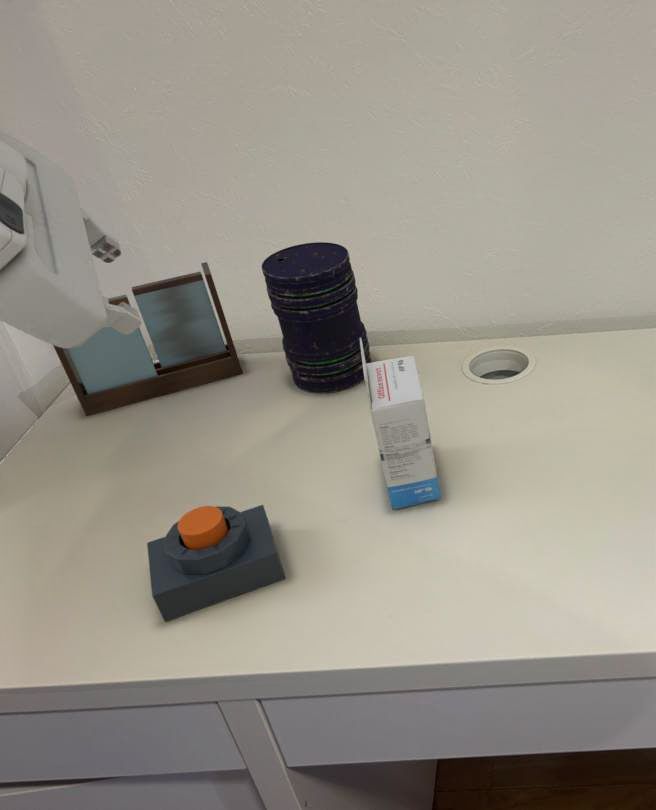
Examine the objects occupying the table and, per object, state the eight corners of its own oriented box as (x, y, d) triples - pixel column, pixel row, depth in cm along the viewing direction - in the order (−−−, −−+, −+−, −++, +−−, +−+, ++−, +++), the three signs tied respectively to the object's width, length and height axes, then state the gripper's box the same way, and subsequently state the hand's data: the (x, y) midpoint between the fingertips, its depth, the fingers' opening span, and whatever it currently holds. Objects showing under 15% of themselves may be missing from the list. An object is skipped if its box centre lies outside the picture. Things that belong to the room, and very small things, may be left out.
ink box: (443, 500, 76) (420, 370, 68) (391, 511, 76) (362, 381, 67) (431, 449, 83) (409, 325, 75) (383, 459, 83) (356, 335, 74)
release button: (186, 555, 66) (179, 540, 65) (181, 529, 68) (175, 514, 67) (230, 540, 67) (224, 525, 66) (225, 515, 70) (219, 500, 69)
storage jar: (382, 350, 101) (359, 240, 93) (362, 393, 93) (335, 276, 85) (306, 352, 102) (277, 243, 94) (280, 394, 94) (246, 279, 86)
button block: (165, 622, 66) (144, 580, 63) (159, 568, 71) (139, 527, 68) (286, 578, 69) (271, 536, 66) (271, 530, 75) (257, 489, 72)
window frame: (86, 416, 93) (37, 313, 86) (86, 399, 96) (39, 299, 89) (243, 373, 99) (211, 273, 91) (238, 359, 102) (207, 261, 94)
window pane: (89, 399, 93) (30, 271, 84) (89, 394, 94) (31, 267, 85) (159, 381, 95) (109, 254, 86) (158, 376, 96) (109, 250, 87)
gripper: (-77, 138, 62) (79, 237, 73) (-66, 308, 51) (116, 393, 62) (-19, 86, 61) (130, 194, 73) (6, 247, 50) (176, 344, 62)
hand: (124, 287), depth 68 cm, fingers open, 8 cm apart
